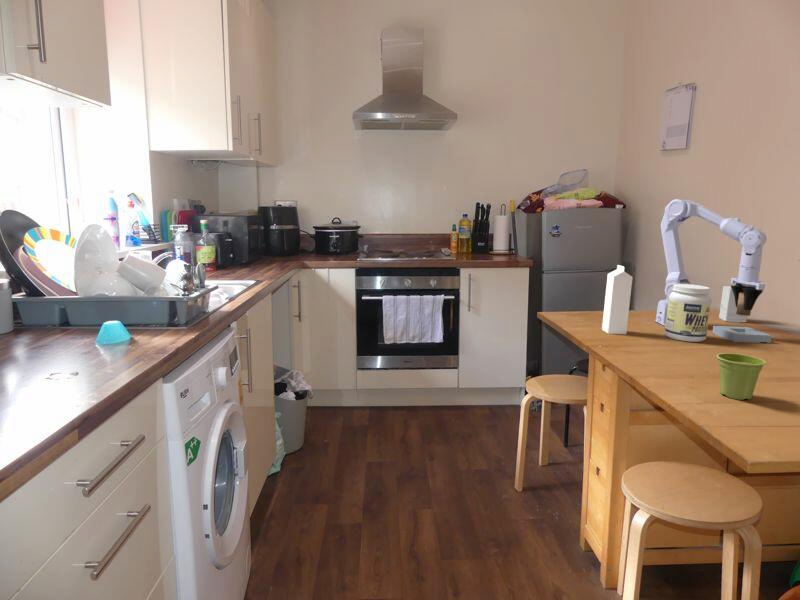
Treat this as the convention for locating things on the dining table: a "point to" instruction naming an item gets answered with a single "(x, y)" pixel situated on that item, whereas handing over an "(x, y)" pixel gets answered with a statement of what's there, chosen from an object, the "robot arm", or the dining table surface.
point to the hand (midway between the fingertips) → (743, 308)
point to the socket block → (741, 334)
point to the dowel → (742, 306)
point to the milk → (617, 301)
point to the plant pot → (738, 374)
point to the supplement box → (729, 307)
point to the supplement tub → (688, 313)
